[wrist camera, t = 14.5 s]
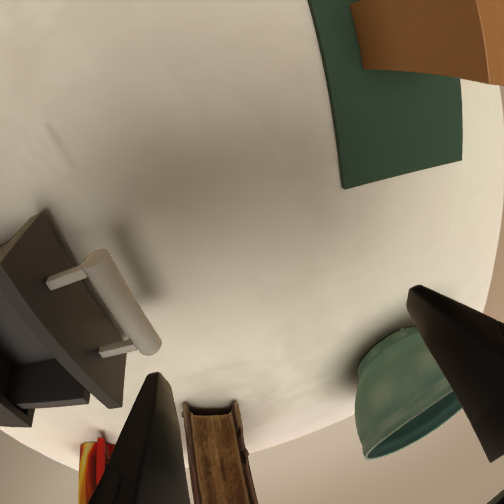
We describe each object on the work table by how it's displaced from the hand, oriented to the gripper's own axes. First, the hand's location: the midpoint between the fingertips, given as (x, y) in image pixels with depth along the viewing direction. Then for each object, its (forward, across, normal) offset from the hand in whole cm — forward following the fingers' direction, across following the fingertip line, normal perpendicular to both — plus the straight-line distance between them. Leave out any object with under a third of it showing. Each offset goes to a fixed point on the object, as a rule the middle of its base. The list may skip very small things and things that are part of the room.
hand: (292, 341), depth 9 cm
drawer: (+10, +16, +2) cm, 19 cm away
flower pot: (+11, -13, +24) cm, 29 cm away
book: (+11, +12, +28) cm, 32 cm away
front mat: (+11, -13, -9) cm, 19 cm away
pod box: (+10, -12, -9) cm, 18 cm away
